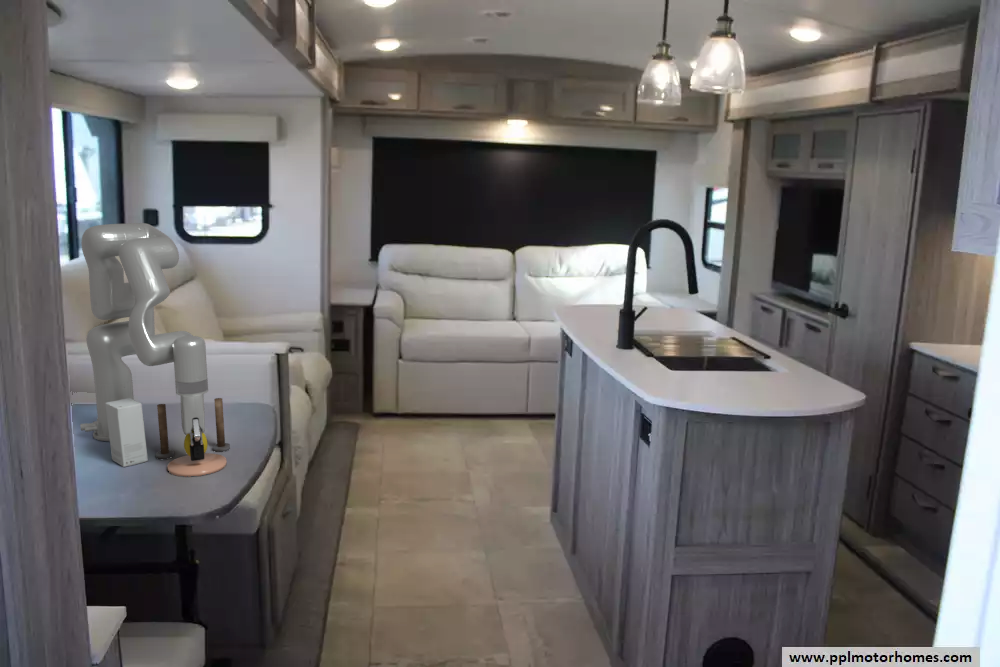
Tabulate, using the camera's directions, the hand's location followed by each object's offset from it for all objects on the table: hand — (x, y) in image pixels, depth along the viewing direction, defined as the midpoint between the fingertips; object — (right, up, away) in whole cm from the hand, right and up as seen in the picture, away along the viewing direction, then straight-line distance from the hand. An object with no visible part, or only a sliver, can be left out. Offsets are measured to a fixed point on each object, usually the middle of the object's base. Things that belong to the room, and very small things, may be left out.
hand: (196, 455), depth 207 cm
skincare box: (-19, -2, +4) cm, 19 cm away
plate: (0, -3, 0) cm, 3 cm away
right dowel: (+2, 0, +13) cm, 13 cm away
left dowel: (-11, -1, +7) cm, 13 cm away
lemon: (0, -1, 0) cm, 1 cm away
